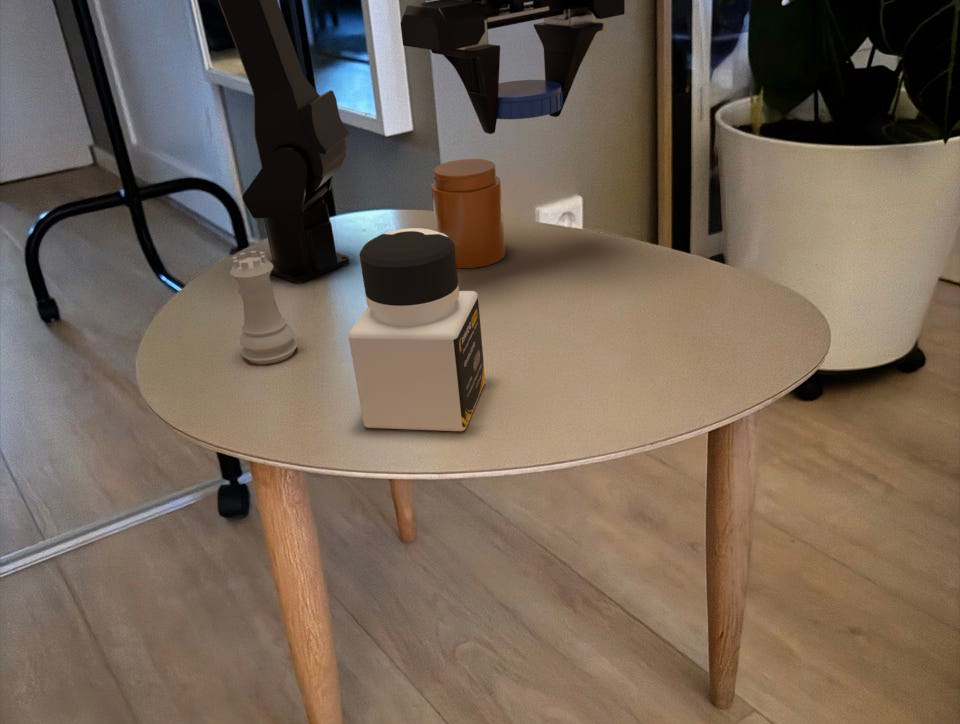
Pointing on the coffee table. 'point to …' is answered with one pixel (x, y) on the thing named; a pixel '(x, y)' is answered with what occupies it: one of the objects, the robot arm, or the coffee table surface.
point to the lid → (528, 99)
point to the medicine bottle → (416, 335)
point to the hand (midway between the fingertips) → (522, 124)
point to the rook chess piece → (261, 312)
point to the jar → (470, 210)
